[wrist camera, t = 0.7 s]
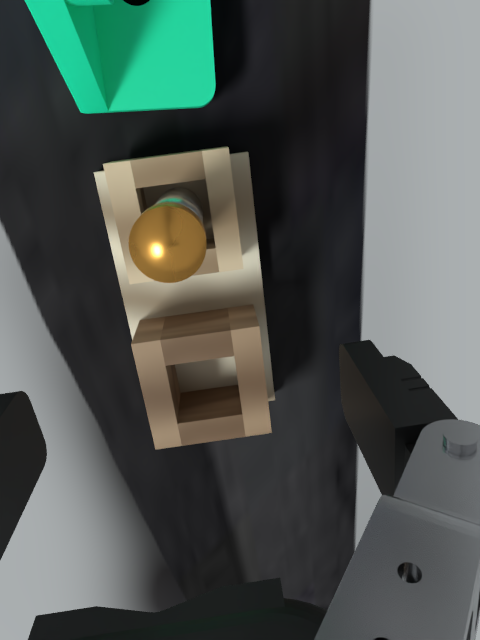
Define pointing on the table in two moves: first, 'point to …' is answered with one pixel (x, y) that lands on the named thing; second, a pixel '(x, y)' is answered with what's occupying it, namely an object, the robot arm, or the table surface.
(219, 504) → the table surface
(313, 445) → the table surface
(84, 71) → the camera mount
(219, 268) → the dock board
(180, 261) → the lock pin
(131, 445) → the table surface
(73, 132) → the table surface
